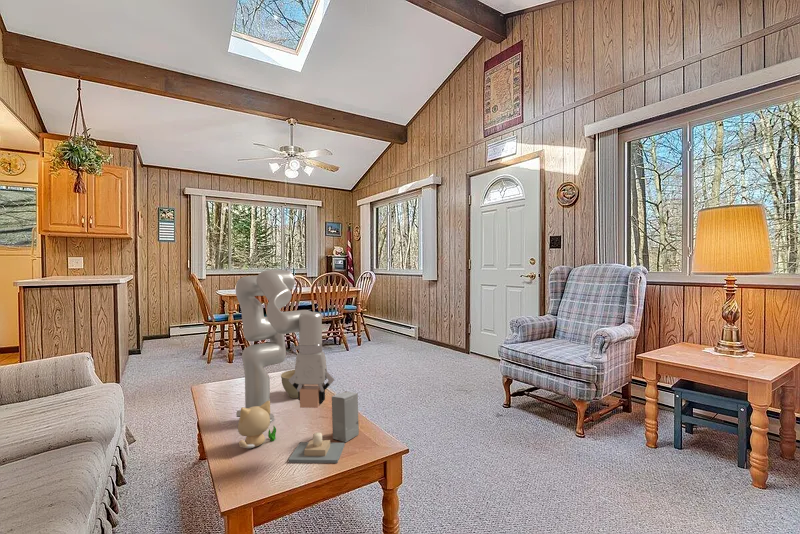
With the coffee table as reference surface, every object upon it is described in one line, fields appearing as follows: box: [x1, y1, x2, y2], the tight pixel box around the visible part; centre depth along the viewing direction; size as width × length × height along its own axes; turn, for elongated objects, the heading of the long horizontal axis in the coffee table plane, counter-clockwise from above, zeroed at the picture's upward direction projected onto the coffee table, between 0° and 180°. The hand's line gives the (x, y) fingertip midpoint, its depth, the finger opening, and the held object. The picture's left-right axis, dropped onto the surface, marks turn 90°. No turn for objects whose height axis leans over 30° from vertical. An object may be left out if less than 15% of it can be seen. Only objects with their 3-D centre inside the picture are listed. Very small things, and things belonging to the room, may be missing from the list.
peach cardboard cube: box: [299, 385, 321, 409], centre depth 128 cm, size 6×6×6 cm
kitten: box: [237, 400, 277, 449], centre depth 136 cm, size 15×10×15 cm, turn 133°
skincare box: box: [331, 390, 360, 444], centre depth 141 cm, size 8×7×16 cm
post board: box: [288, 432, 346, 464], centre depth 128 cm, size 16×12×6 cm
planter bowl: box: [280, 369, 298, 399], centre depth 187 cm, size 16×16×11 cm
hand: (311, 401), depth 128 cm, fingers closed on peach cardboard cube, 6 cm apart
